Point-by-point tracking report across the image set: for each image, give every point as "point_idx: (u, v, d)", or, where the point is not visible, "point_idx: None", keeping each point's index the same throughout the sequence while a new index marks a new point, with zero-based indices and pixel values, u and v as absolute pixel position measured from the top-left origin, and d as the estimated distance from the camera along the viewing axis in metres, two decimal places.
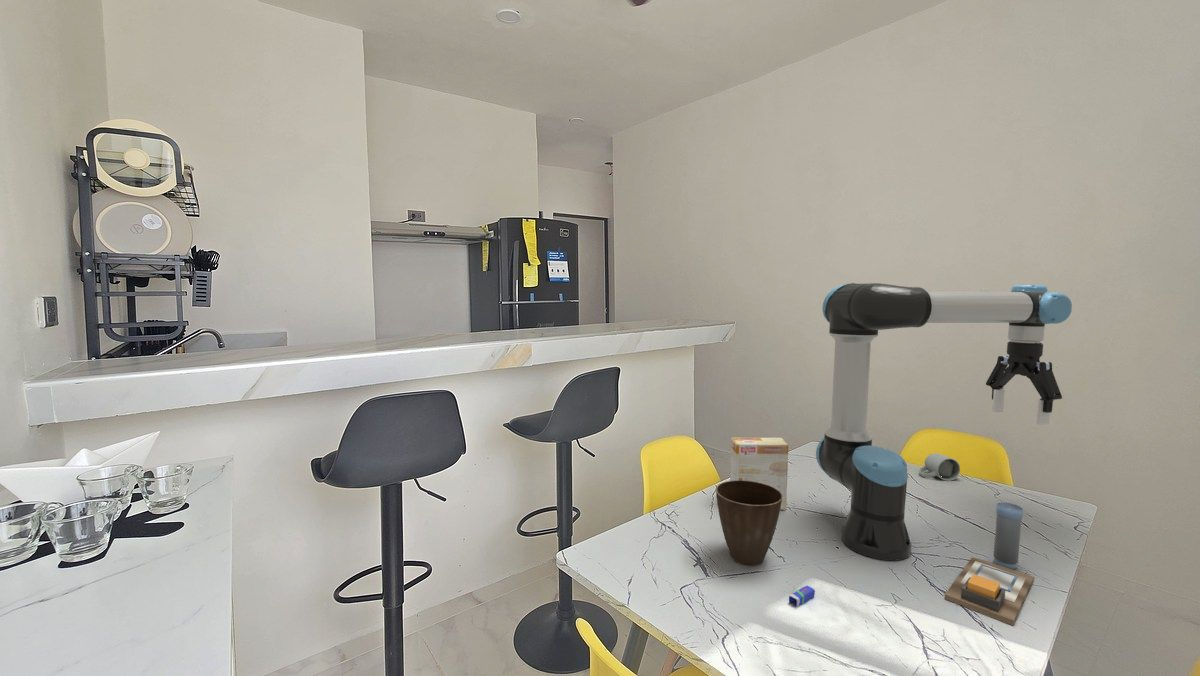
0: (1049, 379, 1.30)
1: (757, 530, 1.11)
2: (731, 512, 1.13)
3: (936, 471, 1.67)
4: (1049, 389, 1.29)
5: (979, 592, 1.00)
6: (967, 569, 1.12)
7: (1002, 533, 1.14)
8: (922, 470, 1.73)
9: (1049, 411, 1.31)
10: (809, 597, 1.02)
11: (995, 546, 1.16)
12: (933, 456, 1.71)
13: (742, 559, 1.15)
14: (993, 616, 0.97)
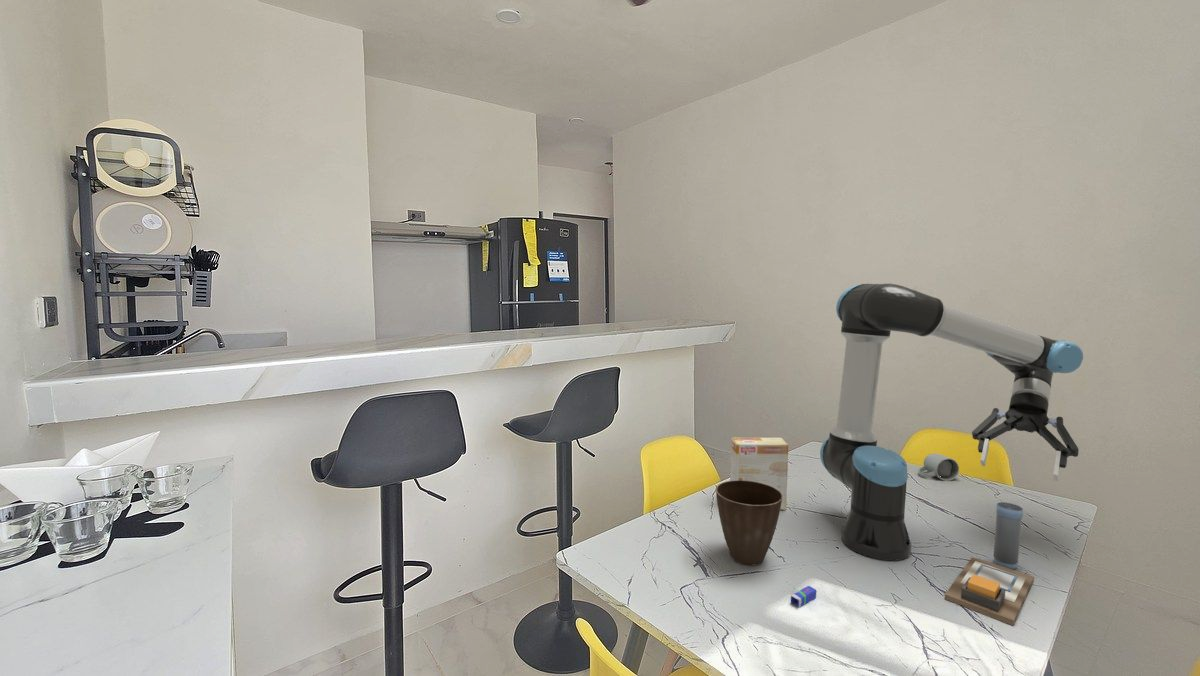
0: None
1: (757, 530, 1.11)
2: (731, 512, 1.13)
3: (935, 471, 1.67)
4: (1072, 441, 1.19)
5: (979, 592, 1.00)
6: (967, 569, 1.12)
7: (1002, 533, 1.14)
8: (921, 470, 1.73)
9: (1065, 465, 1.17)
10: (811, 597, 1.02)
11: (995, 546, 1.16)
12: (932, 456, 1.71)
13: (742, 559, 1.15)
14: (993, 616, 0.97)
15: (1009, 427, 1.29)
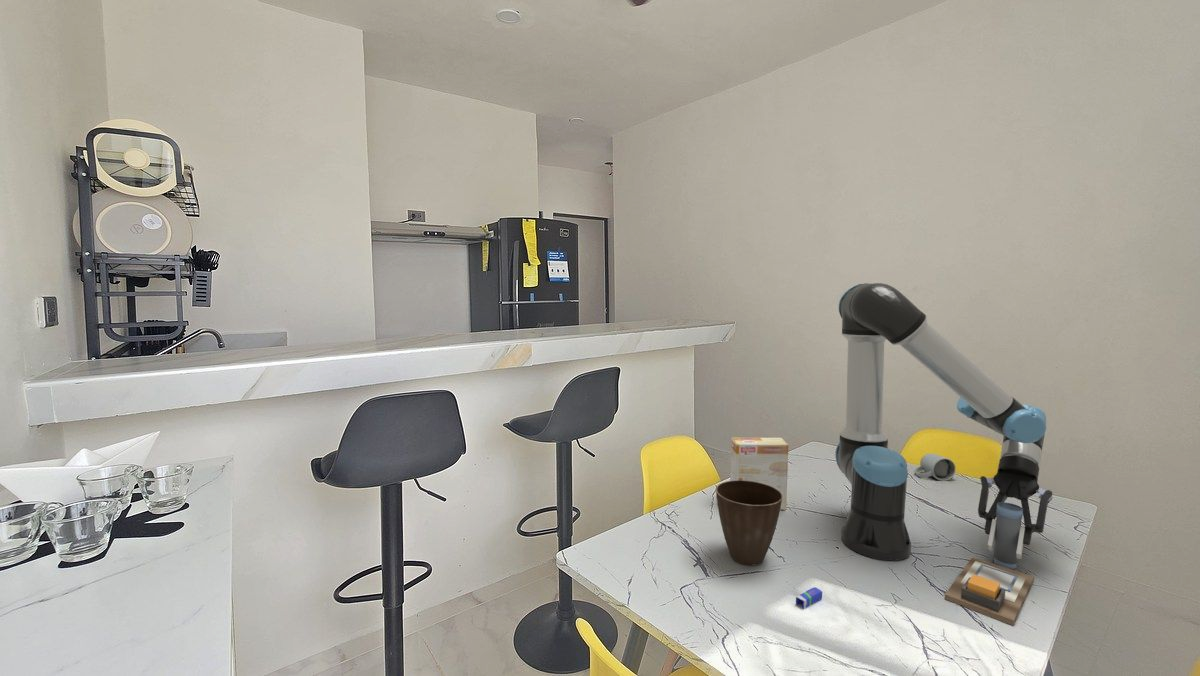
0: (1046, 510, 1.13)
1: (757, 530, 1.11)
2: (731, 512, 1.13)
3: (931, 471, 1.67)
4: (1042, 518, 1.12)
5: (979, 592, 1.00)
6: (967, 569, 1.12)
7: (1002, 533, 1.14)
8: (918, 470, 1.73)
9: (1029, 543, 1.11)
10: (816, 599, 1.02)
11: (995, 546, 1.16)
12: (928, 456, 1.71)
13: (742, 559, 1.15)
14: (993, 616, 0.97)
15: (1005, 496, 1.19)
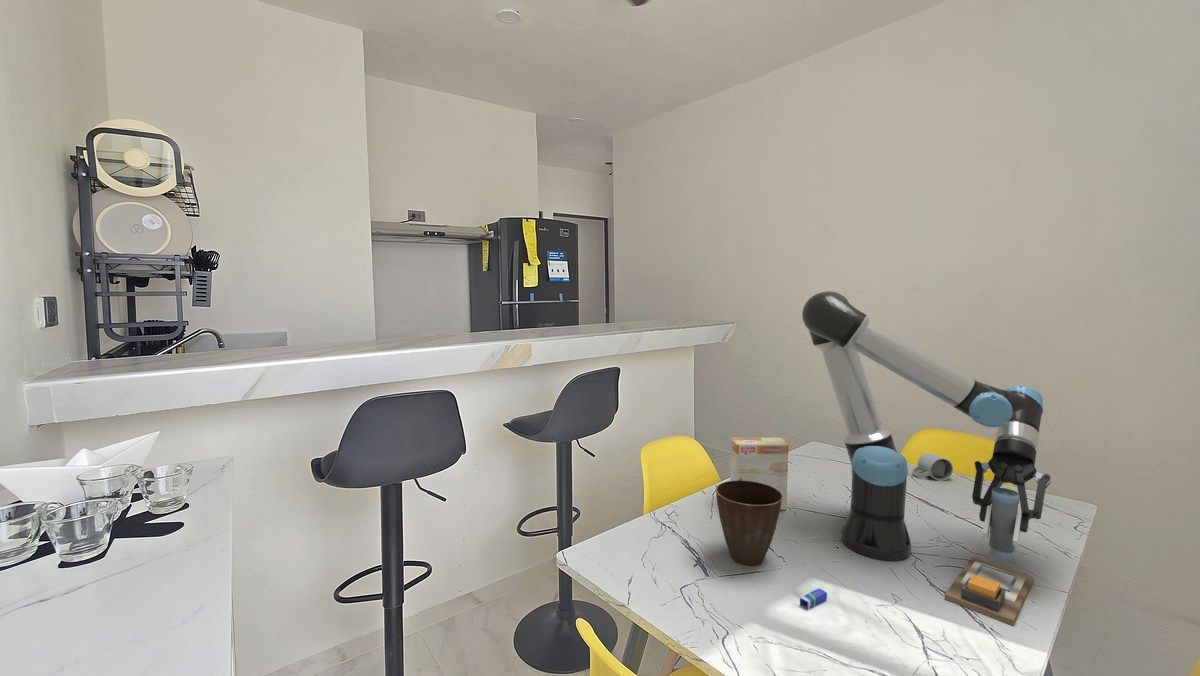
0: (1043, 494, 1.07)
1: (757, 530, 1.11)
2: (731, 512, 1.13)
3: (929, 471, 1.67)
4: (1040, 503, 1.06)
5: (979, 592, 1.00)
6: (967, 569, 1.12)
7: (997, 520, 1.08)
8: (915, 470, 1.73)
9: (1026, 530, 1.05)
10: (821, 600, 1.01)
11: (991, 534, 1.09)
12: (926, 456, 1.71)
13: (742, 559, 1.15)
14: (993, 616, 0.97)
15: (1001, 482, 1.13)
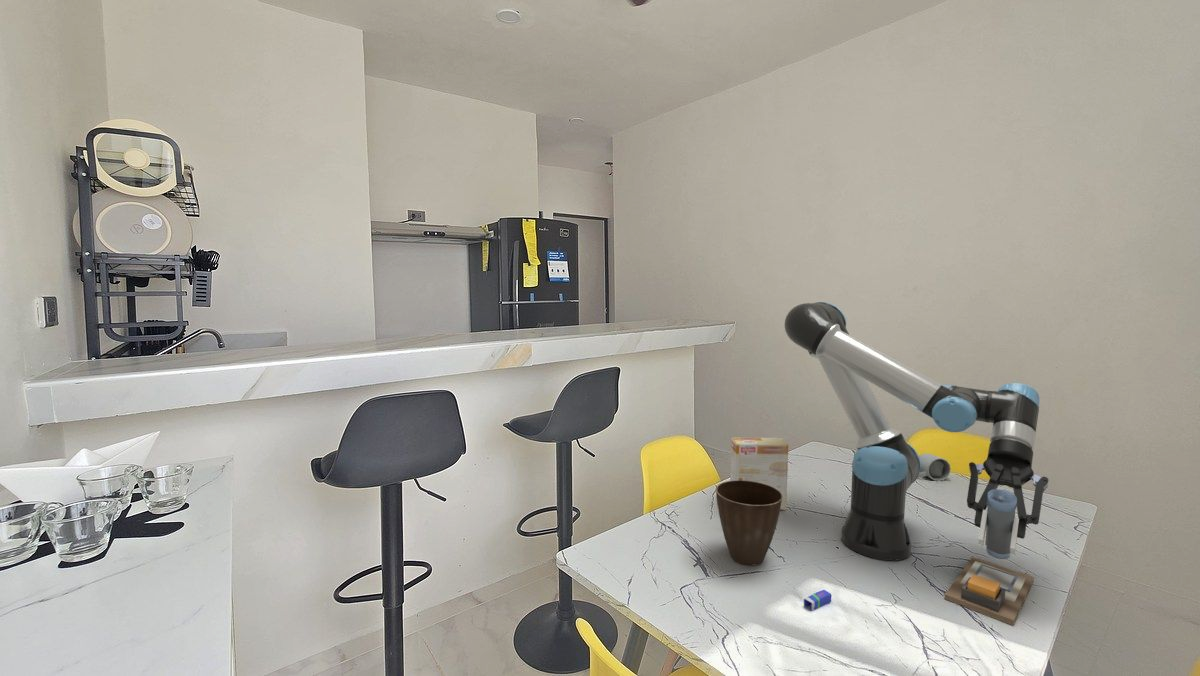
0: (1041, 498, 1.02)
1: (757, 530, 1.11)
2: (731, 512, 1.13)
3: (926, 471, 1.67)
4: (1038, 508, 1.00)
5: (979, 592, 1.00)
6: (967, 569, 1.12)
7: (993, 524, 1.02)
8: None
9: (1024, 536, 1.00)
10: (825, 601, 1.01)
11: (987, 535, 1.05)
12: (923, 456, 1.71)
13: (742, 559, 1.15)
14: (993, 616, 0.97)
15: (996, 484, 1.07)
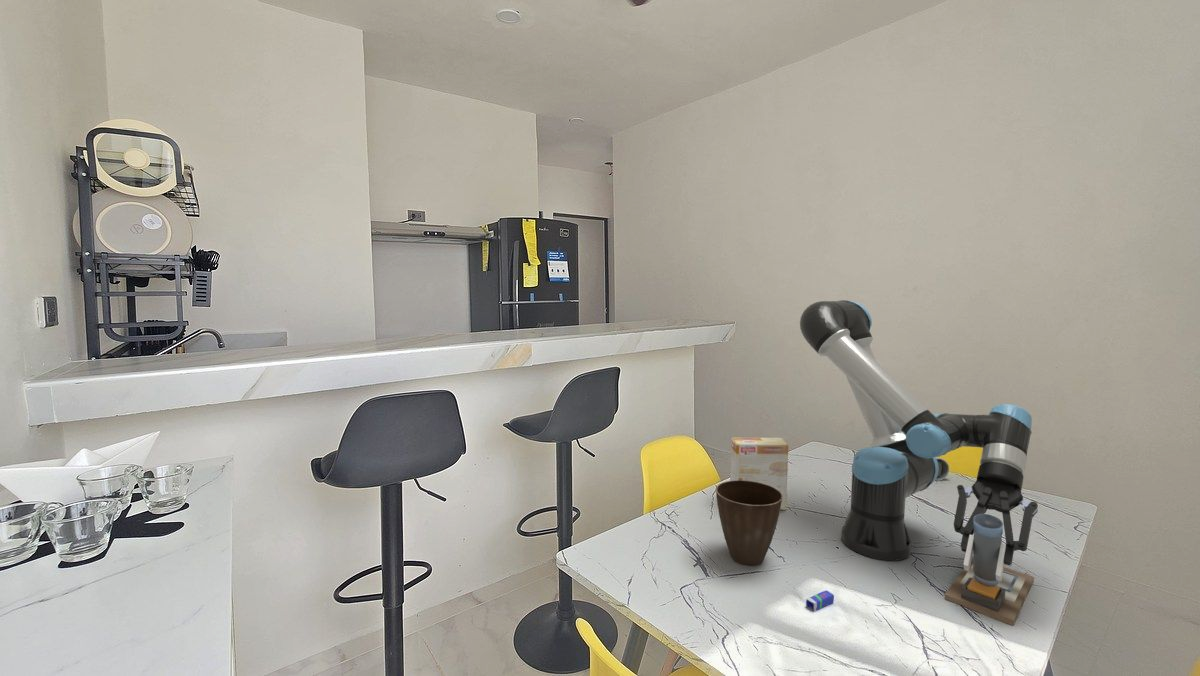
0: (1030, 524, 0.99)
1: (757, 530, 1.11)
2: (731, 512, 1.13)
3: None
4: (1026, 534, 0.98)
5: None
6: None
7: (980, 550, 1.00)
8: None
9: (1011, 563, 0.97)
10: (828, 602, 1.01)
11: (974, 561, 1.02)
12: None
13: (742, 559, 1.15)
14: (993, 616, 0.97)
15: (985, 508, 1.05)
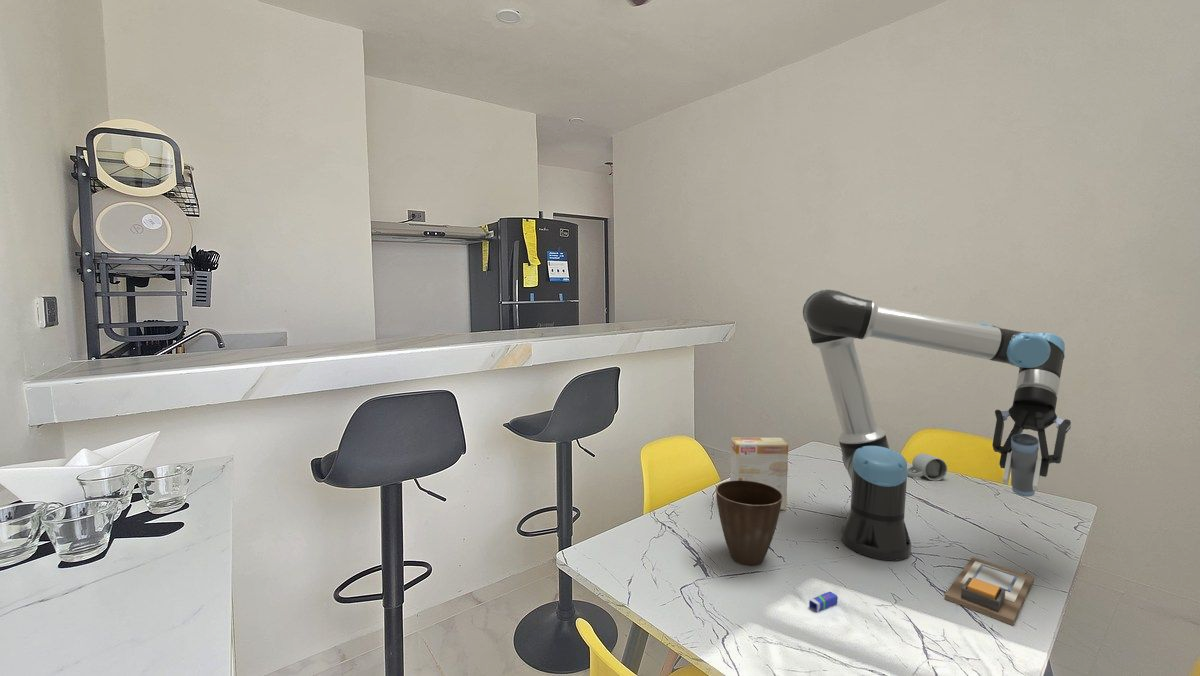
0: (1064, 439, 1.09)
1: (757, 530, 1.11)
2: (731, 512, 1.13)
3: (923, 471, 1.67)
4: (1060, 448, 1.08)
5: None
6: (967, 569, 1.12)
7: (1017, 466, 1.11)
8: (910, 470, 1.73)
9: (1046, 474, 1.08)
10: (831, 603, 1.00)
11: (1012, 476, 1.14)
12: (920, 456, 1.71)
13: (742, 559, 1.15)
14: (993, 616, 0.97)
15: (1021, 429, 1.15)
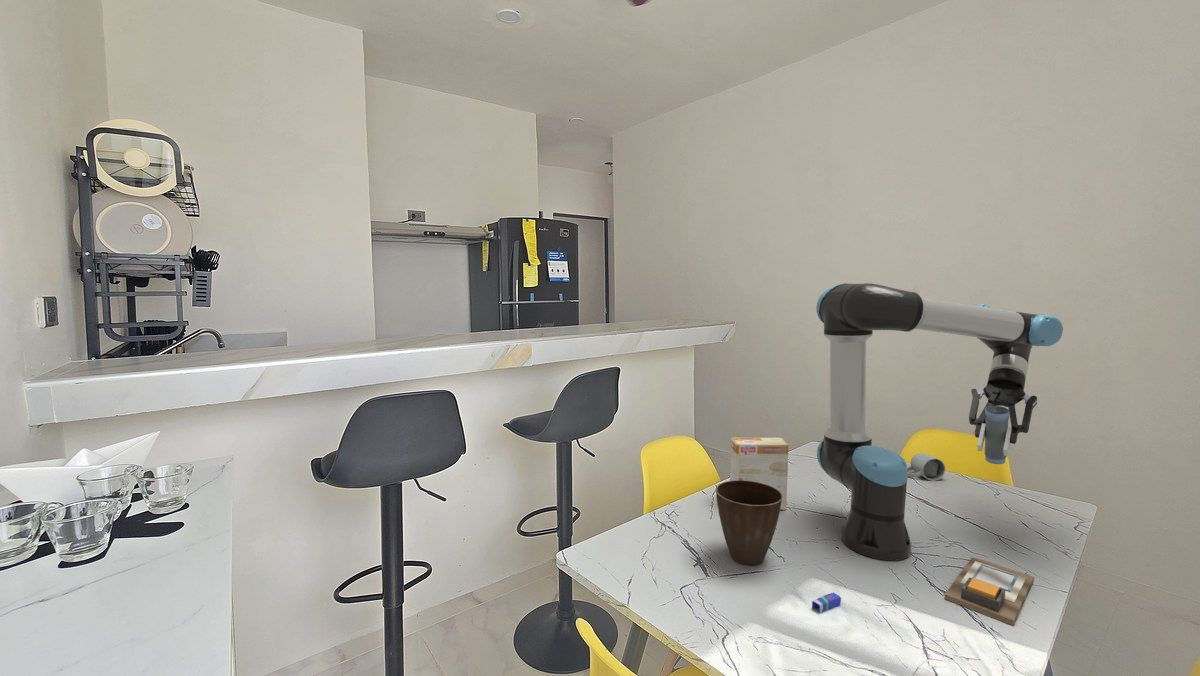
0: (1031, 412, 1.23)
1: (757, 530, 1.11)
2: (731, 512, 1.13)
3: (921, 471, 1.67)
4: (1027, 419, 1.22)
5: None
6: (967, 569, 1.12)
7: (990, 434, 1.24)
8: (908, 470, 1.73)
9: (1015, 441, 1.21)
10: (834, 604, 1.00)
11: (985, 445, 1.26)
12: (918, 456, 1.71)
13: (742, 559, 1.15)
14: (993, 616, 0.97)
15: (994, 405, 1.29)
